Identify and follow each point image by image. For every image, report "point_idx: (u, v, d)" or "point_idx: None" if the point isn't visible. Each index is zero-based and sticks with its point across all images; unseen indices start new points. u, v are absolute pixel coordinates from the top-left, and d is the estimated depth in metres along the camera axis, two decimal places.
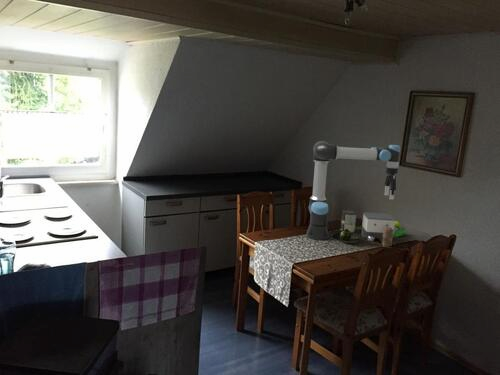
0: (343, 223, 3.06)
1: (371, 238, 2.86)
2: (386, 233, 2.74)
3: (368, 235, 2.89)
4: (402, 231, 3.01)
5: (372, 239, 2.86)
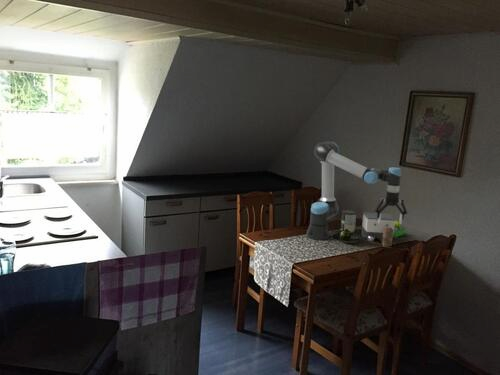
0: (343, 223, 3.06)
1: (371, 238, 2.86)
2: (386, 233, 2.74)
3: (368, 235, 2.89)
4: (402, 231, 3.01)
5: (372, 239, 2.86)
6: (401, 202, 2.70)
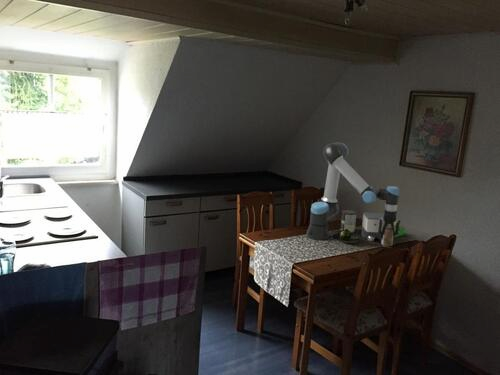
0: (343, 223, 3.06)
1: (371, 238, 2.86)
2: (386, 233, 2.74)
3: (368, 235, 2.89)
4: (402, 231, 3.01)
5: (372, 239, 2.86)
6: (397, 222, 2.73)
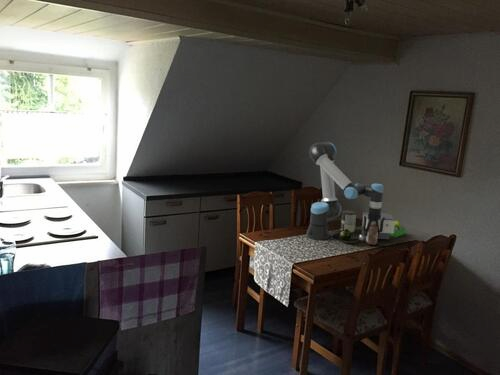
0: (343, 223, 3.06)
1: (362, 237, 2.86)
2: (370, 230, 2.74)
3: None
4: (402, 231, 3.01)
5: (363, 238, 2.87)
6: (382, 219, 2.74)
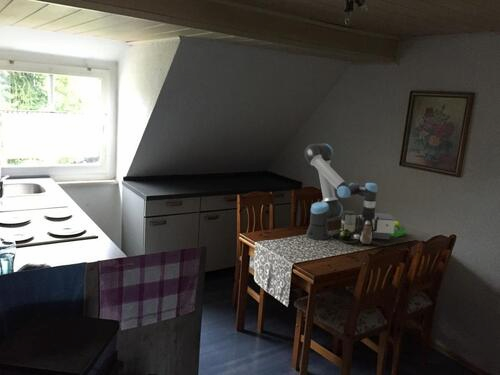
0: (343, 223, 3.06)
1: (357, 237, 2.87)
2: (365, 230, 2.74)
3: (354, 234, 2.90)
4: (402, 231, 3.01)
5: (358, 238, 2.87)
6: (376, 219, 2.74)
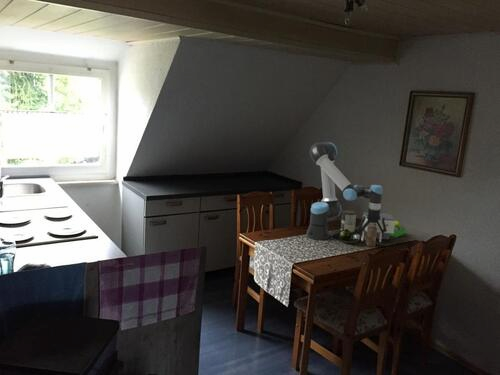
0: (343, 223, 3.06)
1: (357, 237, 2.87)
2: (370, 232, 2.74)
3: (354, 234, 2.90)
4: (402, 231, 3.01)
5: (358, 238, 2.87)
6: (382, 220, 2.73)
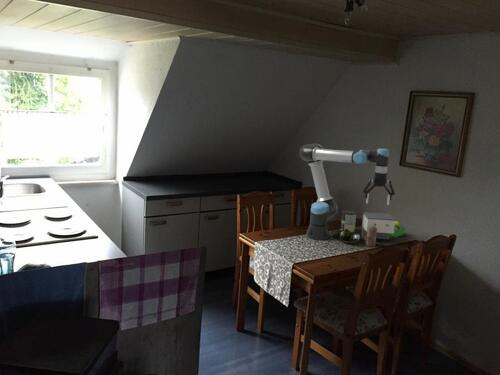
0: (343, 223, 3.06)
1: (357, 237, 2.87)
2: (370, 232, 2.74)
3: (354, 234, 2.90)
4: (402, 231, 3.01)
5: (358, 238, 2.87)
6: (389, 183, 2.74)
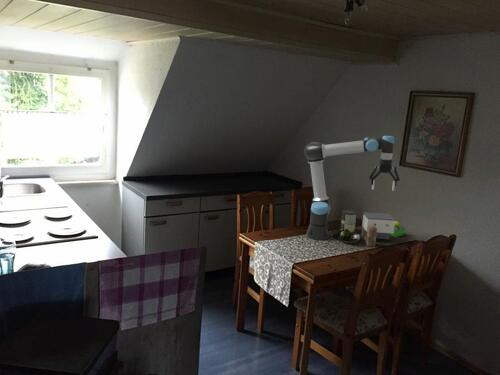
0: (343, 223, 3.06)
1: (357, 237, 2.87)
2: (370, 232, 2.74)
3: (354, 234, 2.90)
4: (402, 231, 3.01)
5: (358, 238, 2.87)
6: (394, 169, 2.81)
